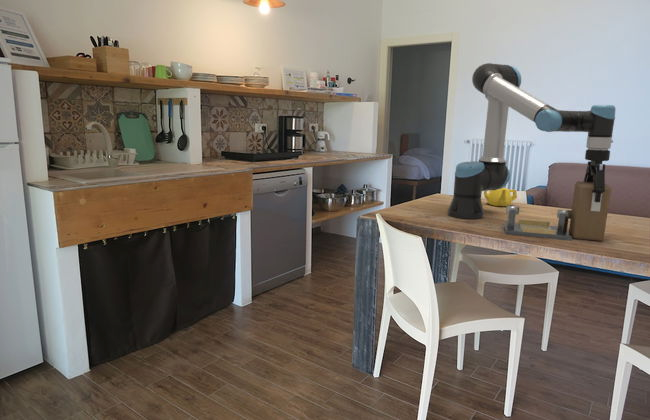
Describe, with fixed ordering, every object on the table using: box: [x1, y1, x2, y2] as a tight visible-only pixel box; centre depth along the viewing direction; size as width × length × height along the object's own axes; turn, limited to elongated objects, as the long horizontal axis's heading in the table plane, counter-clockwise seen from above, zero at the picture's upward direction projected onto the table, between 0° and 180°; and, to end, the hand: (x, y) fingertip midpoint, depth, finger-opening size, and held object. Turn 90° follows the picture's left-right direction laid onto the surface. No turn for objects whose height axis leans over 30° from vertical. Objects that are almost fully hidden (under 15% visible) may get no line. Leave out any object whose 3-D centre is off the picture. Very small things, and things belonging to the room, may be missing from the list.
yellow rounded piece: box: [483, 187, 518, 207], centre depth 228 cm, size 14×13×10 cm
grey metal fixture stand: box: [503, 205, 573, 241], centre depth 174 cm, size 22×15×10 cm
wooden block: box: [568, 181, 612, 242], centre depth 168 cm, size 10×10×20 cm
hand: (590, 207), depth 167 cm, fingers open, 13 cm apart
